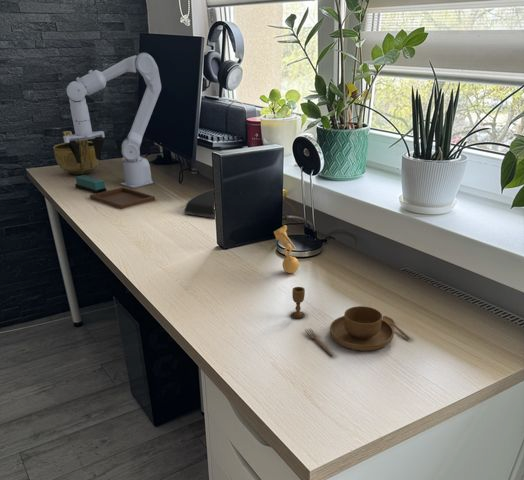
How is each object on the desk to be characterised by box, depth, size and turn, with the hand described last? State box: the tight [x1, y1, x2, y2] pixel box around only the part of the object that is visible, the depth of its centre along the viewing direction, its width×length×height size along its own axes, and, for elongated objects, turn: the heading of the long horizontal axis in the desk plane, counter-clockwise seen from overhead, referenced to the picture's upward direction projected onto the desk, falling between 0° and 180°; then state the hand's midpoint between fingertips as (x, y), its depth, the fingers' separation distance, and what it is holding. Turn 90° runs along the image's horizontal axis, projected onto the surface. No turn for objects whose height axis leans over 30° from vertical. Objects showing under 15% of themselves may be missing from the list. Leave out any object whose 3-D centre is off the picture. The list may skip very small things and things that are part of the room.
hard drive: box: [183, 188, 216, 219], centre depth 167 cm, size 13×19×4 cm
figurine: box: [273, 224, 300, 274], centre depth 121 cm, size 8×6×12 cm
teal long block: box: [74, 174, 107, 194], centre depth 188 cm, size 14×4×4 cm, turn 47°
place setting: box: [290, 286, 411, 357], centre depth 100 cm, size 18×20×6 cm
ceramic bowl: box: [52, 130, 100, 176], centre depth 207 cm, size 22×17×15 cm
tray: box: [89, 186, 156, 210], centre depth 177 cm, size 14×19×2 cm
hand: (88, 161), depth 187 cm, fingers open, 7 cm apart
